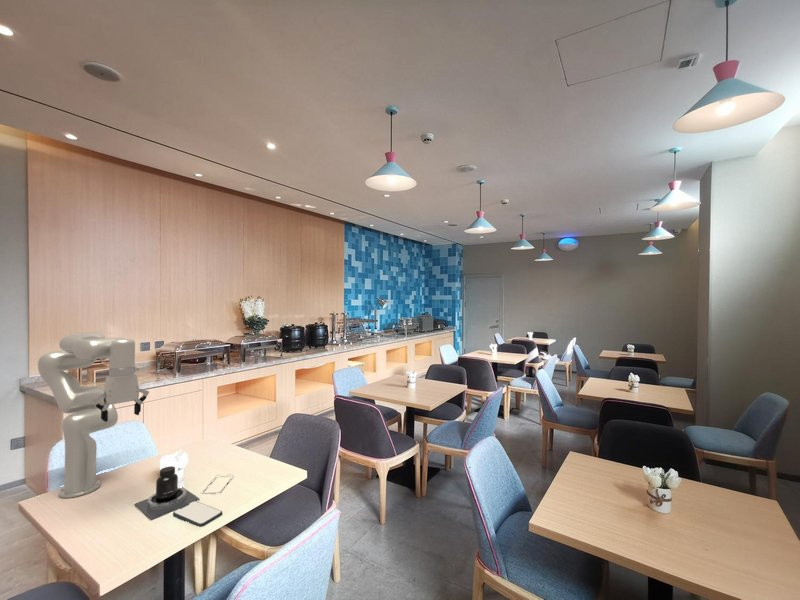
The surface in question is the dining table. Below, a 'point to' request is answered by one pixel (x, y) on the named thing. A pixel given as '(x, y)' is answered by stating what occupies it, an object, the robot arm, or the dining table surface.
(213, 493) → the phone case
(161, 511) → the ring collar
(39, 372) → the robot arm
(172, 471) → the supplement bottle
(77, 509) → the dining table surface
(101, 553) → the dining table surface
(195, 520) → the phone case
